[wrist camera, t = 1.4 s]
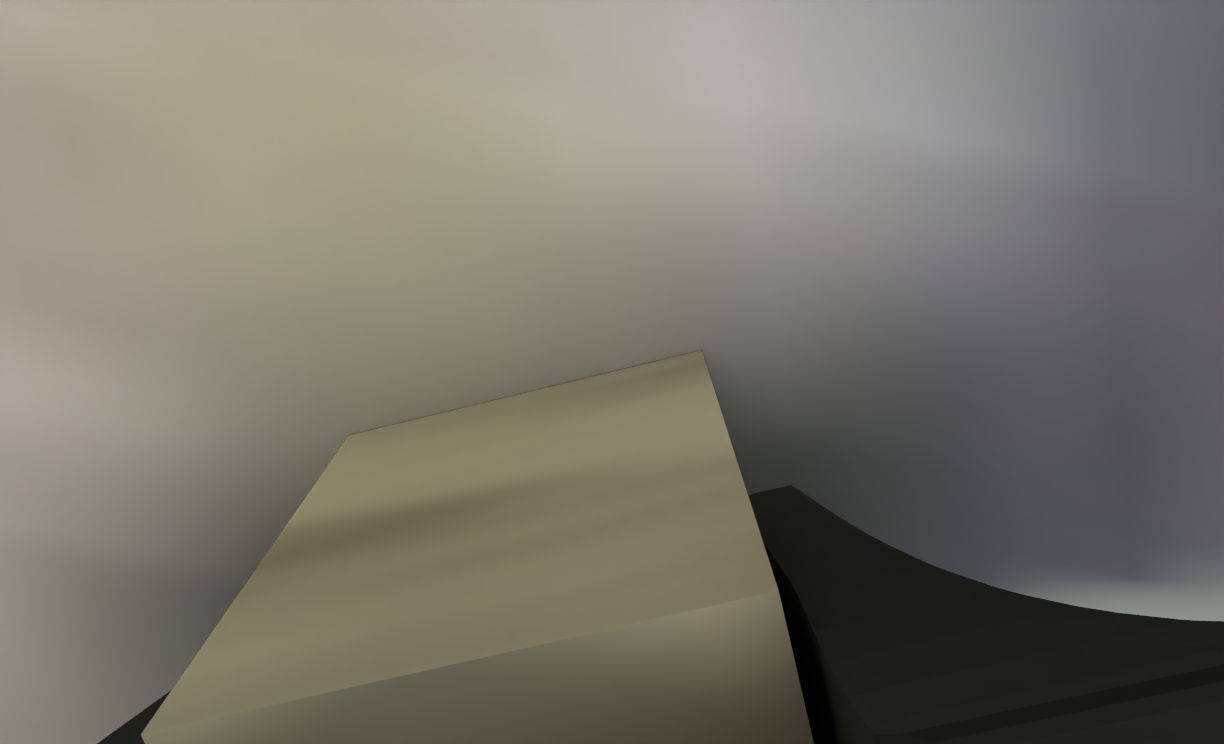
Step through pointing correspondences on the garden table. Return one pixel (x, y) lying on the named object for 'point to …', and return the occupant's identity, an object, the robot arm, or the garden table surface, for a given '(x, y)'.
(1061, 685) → the robot arm
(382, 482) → the brass block
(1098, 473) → the garden table surface
